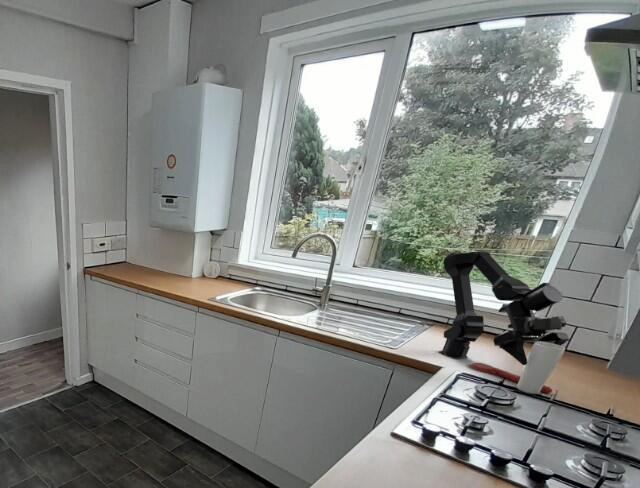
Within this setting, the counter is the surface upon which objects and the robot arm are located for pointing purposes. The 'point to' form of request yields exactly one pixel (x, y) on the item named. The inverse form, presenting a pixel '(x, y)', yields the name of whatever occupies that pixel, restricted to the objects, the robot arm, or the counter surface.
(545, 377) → the drinking glass
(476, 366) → the red long flat piece
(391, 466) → the counter surface
